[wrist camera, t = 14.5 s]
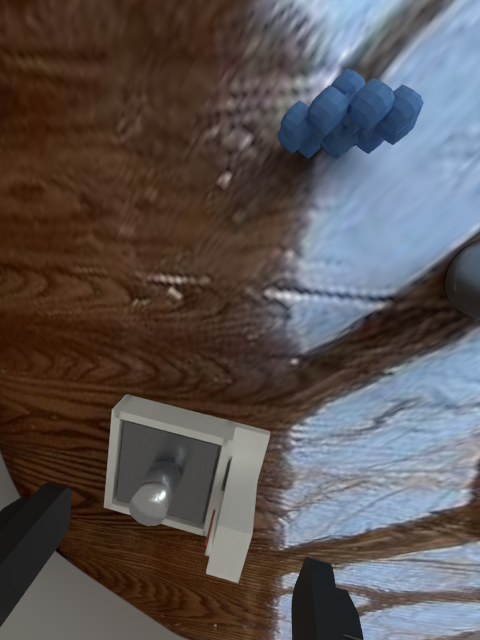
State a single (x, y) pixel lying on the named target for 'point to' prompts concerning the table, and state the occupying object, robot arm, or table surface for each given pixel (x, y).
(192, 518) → the scale pan
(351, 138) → the grapes
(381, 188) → the table surface
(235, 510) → the scale
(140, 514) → the cylinder
